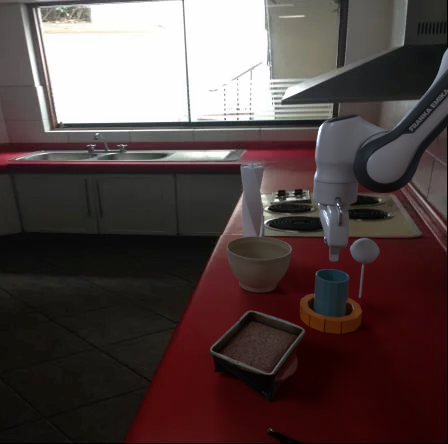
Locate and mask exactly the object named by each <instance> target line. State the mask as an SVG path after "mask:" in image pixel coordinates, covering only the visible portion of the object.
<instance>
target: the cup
mask: <svg viewBox="0 0 448 444" xmlns="http://www.w3.org/2000/svg"><path fill="white" fill-rule="evenodd" d="M350 280H351V277H350V275H349V274H348V273H347V272H345V271H342V270H340V269H335V268H324V269H319V270H316V272H315V275H314V289H313V291H314V292H313V294H314V304H313V309H312V310H313V311H314V312H315V313H318V314H321V315H324V316H329V317H343V316H347V315H348V314H347V303H348V298H349V290H350Z"/></svg>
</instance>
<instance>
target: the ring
mask: <svg viewBox="0 0 448 444" xmlns="http://www.w3.org/2000/svg"><path fill="white" fill-rule="evenodd" d="M313 304H314V293H309V294H306V295H305V296H304V297H302V298H301V299H300V300H299V318H300V320H301V321H302V322H303V323H304V324H305V325H306V326H307V327H309V328H311V329H314V330H317V331H319V332H322V333H327V334H337V335H340V334H341V335H342V334H346V333H351V332H352V333H353V332H355V331H356V330H357V329H358V328H359V327H360V326H361V325H362V317H363V310H362V308H361V304H359V303H358V302H357V301H356V300H354V299H352V298H350V297H348V303H347V314H346V316H343V317H329V316H324V315H321V314H318V313H315V312H314V311H313Z"/></svg>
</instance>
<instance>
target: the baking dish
mask: <svg viewBox="0 0 448 444" xmlns="http://www.w3.org/2000/svg"><path fill="white" fill-rule="evenodd" d="M305 334H306V330H305V328H303V327H302V326H299V325H298V324H295V323H293V322H291V321H288V320H285V319H282V318H279V317H276V316H273V315H270V314H267V313H263V312H260V311H255V310H247V311H246V312H244V314H242V315H241V316H240V318H239V319H238V320H237V321H236V322H235V323H234V324H233V325H232V326H231V327H230V328H229V329H228V330H227V331H226V332H225V333H224V334H223V335H221V336H220V337H219V339H218V340H216V341H215V342H214V343H213V344H212V345H211V346H210V347H209V355H210V356H211V357H212V359H213V364H214V370H213V372H212V373H230V374H232V375H233V376H235V378H237V379H238V380H240V381H241V382H242V383H244V384H245V385H246V386H247V387H249V388H250V389H251V390H252V391H254V392H255V393H257V394H258V395H260V396H261V397H263V398H264V399H265V400H266V401H268V402H270V403H272V402H273V401H272V400H273V398H274V396H275V395H276V393H277V391H278V390H279V389H280V387H282V386H283V384H284V383H285V381H286V380H287V379H288V378H291V376H293V375H295V374H296V372H297V368H298V367H299V365H298V356H297V351H298V348H299V346H300V344H301V342H302V340H303V337H304V336H305Z"/></svg>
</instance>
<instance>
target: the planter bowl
mask: <svg viewBox="0 0 448 444" xmlns="http://www.w3.org/2000/svg"><path fill="white" fill-rule="evenodd" d="M226 252H227V259H228V264H229V267H230V270H231V272H232V274H233V275H234V277H235V278H236V280H237V281H238V284H239V286H240V288H242V289H243V290H245V291H248V292H251V293H256V294H257V293H258V294H263V293H264V294H265V293H270V292H272V291H274V290H275V289H276V288H277V286H278V283H279V282H280V281H282V279H283V278H284V276H285V275H286V274H287V271H288V269H289V266H290V263H291V257H292V253H293V247H292V245H290V244H289V243H288V242H286V241H284V240H281V239H278V238H274V237H270V236H264V237H257V236H252V237H243V236H242V237H238V238H234V239H232V240H231V241H229V242H228V243H227V245H226Z"/></svg>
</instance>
